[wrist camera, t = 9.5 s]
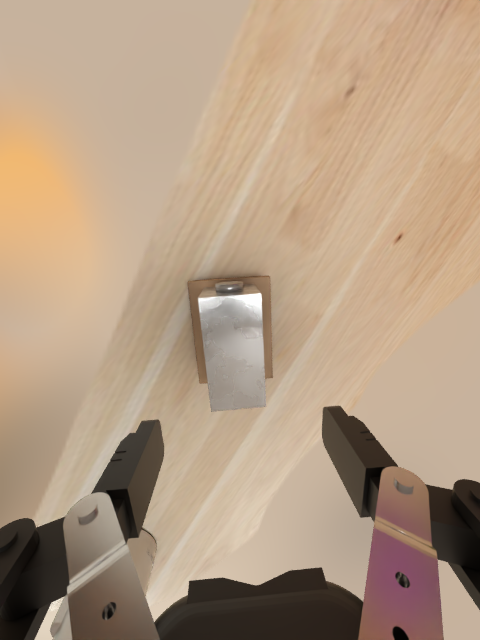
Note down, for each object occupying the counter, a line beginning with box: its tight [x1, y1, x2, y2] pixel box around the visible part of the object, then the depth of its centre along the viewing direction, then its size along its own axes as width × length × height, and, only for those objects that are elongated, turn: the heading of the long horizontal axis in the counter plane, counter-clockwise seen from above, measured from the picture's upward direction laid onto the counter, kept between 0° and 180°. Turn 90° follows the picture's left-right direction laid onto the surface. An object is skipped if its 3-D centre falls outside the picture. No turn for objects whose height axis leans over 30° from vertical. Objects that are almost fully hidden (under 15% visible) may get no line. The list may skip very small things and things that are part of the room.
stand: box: [188, 276, 273, 384], centre depth 27 cm, size 8×11×4 cm
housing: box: [198, 281, 266, 412], centre depth 22 cm, size 11×5×6 cm, turn 4°
